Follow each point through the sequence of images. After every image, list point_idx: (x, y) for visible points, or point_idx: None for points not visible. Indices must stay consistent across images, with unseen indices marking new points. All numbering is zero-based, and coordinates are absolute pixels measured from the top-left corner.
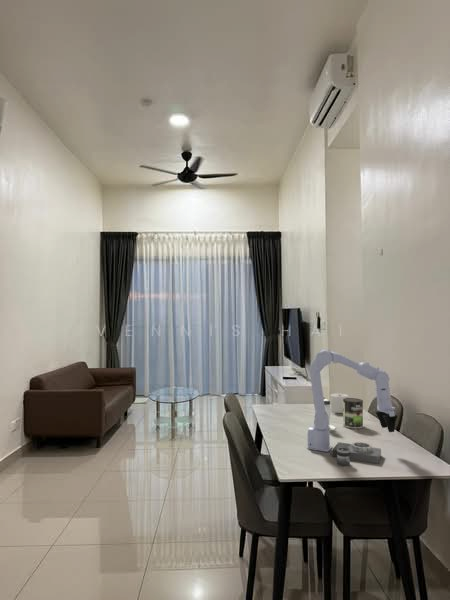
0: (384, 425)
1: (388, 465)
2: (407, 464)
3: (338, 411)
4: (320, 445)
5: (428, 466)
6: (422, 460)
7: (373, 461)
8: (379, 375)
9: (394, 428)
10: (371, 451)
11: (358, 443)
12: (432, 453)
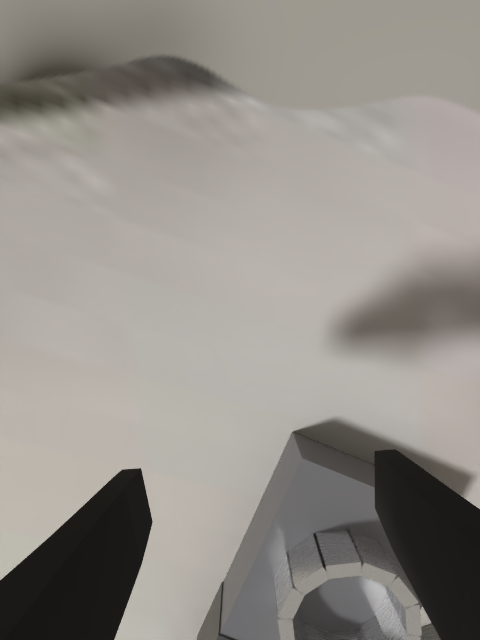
0: (133, 525)
1: (451, 434)
2: (432, 323)
3: None
4: None
5: (462, 208)
6: (358, 206)
7: None
8: None
9: (439, 481)
10: (368, 535)
11: (292, 630)
12: (214, 83)
